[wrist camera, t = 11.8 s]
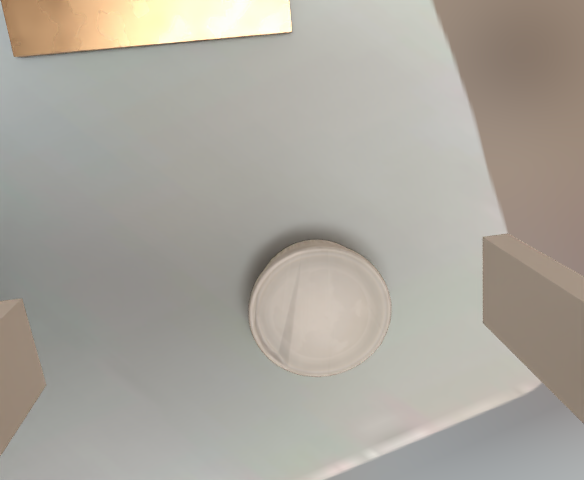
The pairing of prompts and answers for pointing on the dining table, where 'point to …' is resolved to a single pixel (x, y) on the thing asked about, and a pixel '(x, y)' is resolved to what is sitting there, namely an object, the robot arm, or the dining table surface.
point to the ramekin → (319, 309)
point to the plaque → (135, 23)
